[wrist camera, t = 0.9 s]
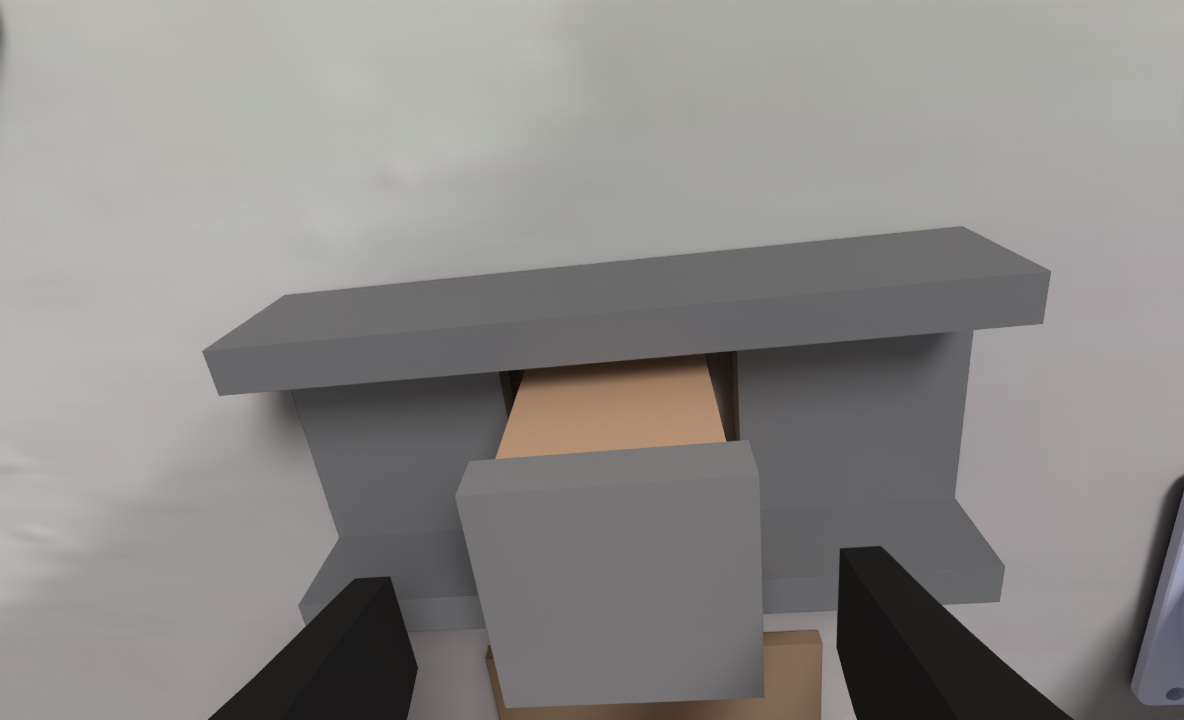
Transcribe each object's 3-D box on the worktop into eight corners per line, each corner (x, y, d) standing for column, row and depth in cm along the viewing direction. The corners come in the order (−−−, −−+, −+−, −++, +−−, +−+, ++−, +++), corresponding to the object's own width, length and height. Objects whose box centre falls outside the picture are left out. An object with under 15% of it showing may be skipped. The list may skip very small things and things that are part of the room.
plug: (708, 312, 16) (759, 474, 10) (717, 473, 18) (765, 697, 12) (521, 330, 17) (455, 496, 10) (548, 485, 19) (505, 707, 12)
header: (962, 226, 15) (1051, 271, 12) (935, 507, 18) (999, 601, 15) (283, 294, 17) (202, 350, 14) (361, 543, 20) (310, 636, 17)
